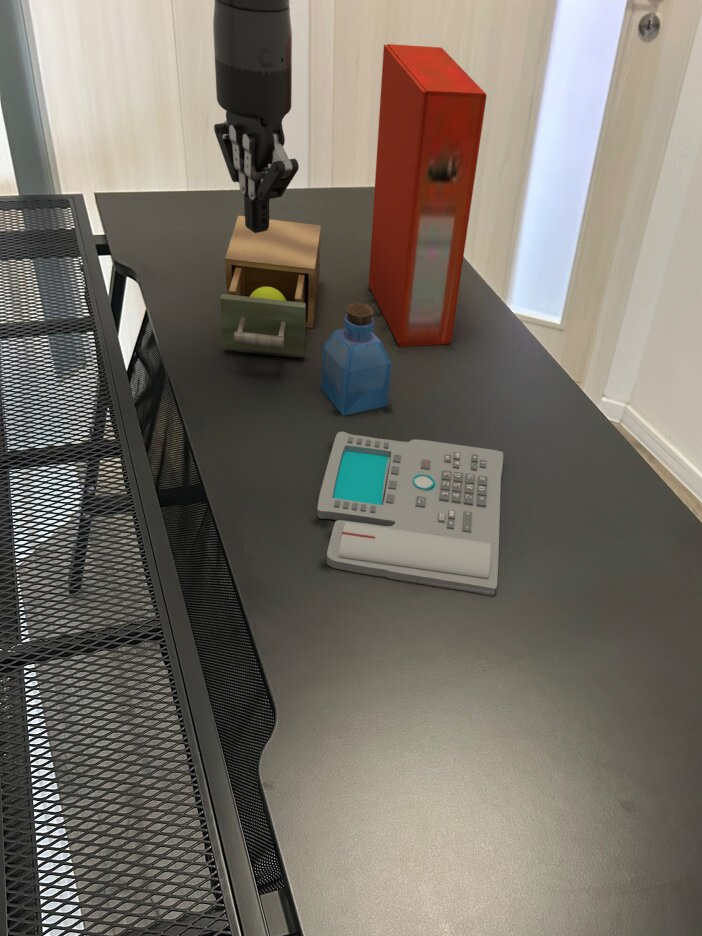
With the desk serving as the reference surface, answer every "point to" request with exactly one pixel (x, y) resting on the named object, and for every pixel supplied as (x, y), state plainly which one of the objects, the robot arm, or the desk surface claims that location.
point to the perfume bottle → (356, 364)
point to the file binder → (423, 190)
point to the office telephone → (414, 511)
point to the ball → (268, 293)
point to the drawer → (265, 312)
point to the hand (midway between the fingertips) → (256, 229)
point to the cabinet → (279, 254)
